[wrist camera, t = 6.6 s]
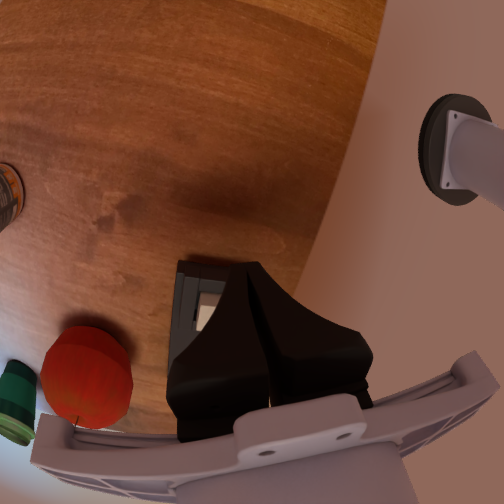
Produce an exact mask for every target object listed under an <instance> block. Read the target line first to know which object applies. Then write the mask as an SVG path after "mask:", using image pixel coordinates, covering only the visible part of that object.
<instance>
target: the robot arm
mask: <svg viewBox="0 0 504 504" xmlns="http://www.w3.org/2000/svg"><path fill="white" fill-rule="evenodd" d="M454 115H455V116H454ZM446 184H447V185H446ZM439 185H440V187H441V188H442V189H469V190H471V191H473V192H474V193H476V194H478V195H480V196H481V197H483V198H485V199H486V200H488V201H490V202H491V203H493V204H494V205H496V206H497V207H499V208H501V209H502V210H504V130H503V129H500V128H499V127H498V125H497V124H494V123H491V122H489V121H486V120H483V119H480V118H477V117H474V116H470V115H467V114H464V113H460V112H457V111H453V110H448V111H447V118H446V133H445V144H444V154H443V162H442V169H441V176H440V183H439ZM372 361H373V353H372V351H371V349H370V348H369V346H368V344H367V343H366V341H365V339H364V338H363V337H362V336H361V334H360V333H359V332H357V331H354V330H352V329H349V328H346V327H343V326H340V325H338V324H335V323H333V322H331V321H329V320H327V319H325V318H323V317H321V316H319V315H317V314H315V313H313V312H312V311H310V310H309V309H307V308H306V307H304V306H303V305H301V304H300V303H298V302H297V301H296V300H295V299H293V298H292V297H291V296H290V295H289V294H288V293H286V292H285V291H284V290H283V289H282V288H281V287H280V286H279V285H278V284H277V283H276V282H275V281H274V280H273V279H272V278H271V276H270V275H269V274H268V273H267V272H266V271H265V269H264V268H263V267H262V265H261V264H260V263H259V262H258V261H256V262H247V263H238V264H231V265H230V266H229V271H228V277H227V280H226V284H225V287H224V290H223V292H222V295H221V297H220V299H219V302H218V304H217V306H216V308H215V310H214V312H213V313H212V315H211V317H210V318H209V320H208V321H207V323H206V324H205V326H204V327H203V329H202V330H201V331H200V333H199V334H198V335H197V336H196V337H195V339H194V340H193V341H192V342H191V343H190V344H189V345H188V347H187V348H186V349H184V350H183V351H182V352H181V353H180V354H179V355H178V356H177V357H176V358H175V359H174V360H173V362H172V365H171V368H170V371H169V375H168V380H167V390H166V399H167V403H168V405H169V406H170V408H171V410H172V411H173V413H174V415H175V417H176V418H177V434H138V433H122V432H110V431H100V430H92V429H84V428H78V427H74V425H73V424H72V423H71V422H70V421H68V420H67V419H65V418H63V417H60V416H55V415H49V414H44V413H42V414H41V416H40V419H39V423H38V427H37V432H36V435H35V440H34V444H33V449H32V454H31V460H30V462H31V464H33V465H34V466H36V467H38V468H39V469H41V470H43V471H45V472H46V473H48V474H49V475H51V476H53V477H55V478H57V479H59V480H60V481H62V482H64V483H67V484H71V485H74V486H78V487H82V488H86V489H90V490H94V491H99V492H103V493H107V494H112V495H117V496H122V497H128V498H133V499H139V500H147V501H154V502H163V503H174V504H419V502H418V499H417V497H416V494H415V492H414V489H413V486H412V484H411V481H410V479H409V476H408V474H407V471H406V469H405V466H404V464H403V461H402V458H404V457H406V456H408V455H410V454H411V453H413V452H415V451H417V450H419V449H421V448H423V447H424V446H426V445H428V444H430V443H431V442H433V441H435V440H436V439H438V438H440V437H441V436H443V435H445V434H446V433H448V432H449V431H451V430H453V429H454V428H456V427H457V426H459V425H460V424H462V423H464V422H465V421H467V420H468V419H470V418H471V417H473V416H474V415H475V414H476V413H477V412H478V411H479V410H480V409H481V408H482V407H483V406H484V405H485V404H486V403H487V402H488V401H489V400H490V398H491V397H492V396H493V395H494V394H495V393H496V392H497V391H498V389H499V388H500V385H499V384H498V382H497V381H496V379H495V378H494V376H493V375H492V373H491V372H490V370H489V369H488V367H487V366H486V364H485V363H484V362H483V360H482V359H481V357H480V356H479V355H478V354H477V352H476V351H475V350H474V351H472V352H470V353H468V354H466V355H464V356H462V357H460V358H459V359H458V360H457V361H456V362H455V363H454V364H453V366H452V367H451V370H450V371H448V372H445V373H443V374H441V375H439V376H437V377H435V378H432V379H430V380H428V381H426V382H423V383H421V384H418V385H416V386H414V387H411V388H409V389H406V390H403V391H401V392H398V393H396V394H393V395H390V396H387V397H384V398H381V399H379V400H376V401H373V402H372V400H371V398H370V395H369V393H368V391H367V389H368V387H369V386H368V383H367V381H366V379H365V378H366V375H367V373H368V371H369V369H370V367H371V364H372ZM269 398H270V404H271V407H270V408H269Z"/></svg>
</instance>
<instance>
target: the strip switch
mask: <svg viewBox="0 0 504 504" xmlns="http://www.w3.org/2000/svg"><path fill="white" fill-rule="evenodd" d="M221 295H222V294H220V293H212V292H204V291H201V293H200V298H199V304H198V310H197V316H196V330H197V331H201V330H202V329H203V327H204V326H205V324H206V323H207V321H208V320H209V318H210V317H211V315H212V313H213V312H214V310H215V308H216V306H217V304H218V302H219V299H220V297H221Z"/></svg>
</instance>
